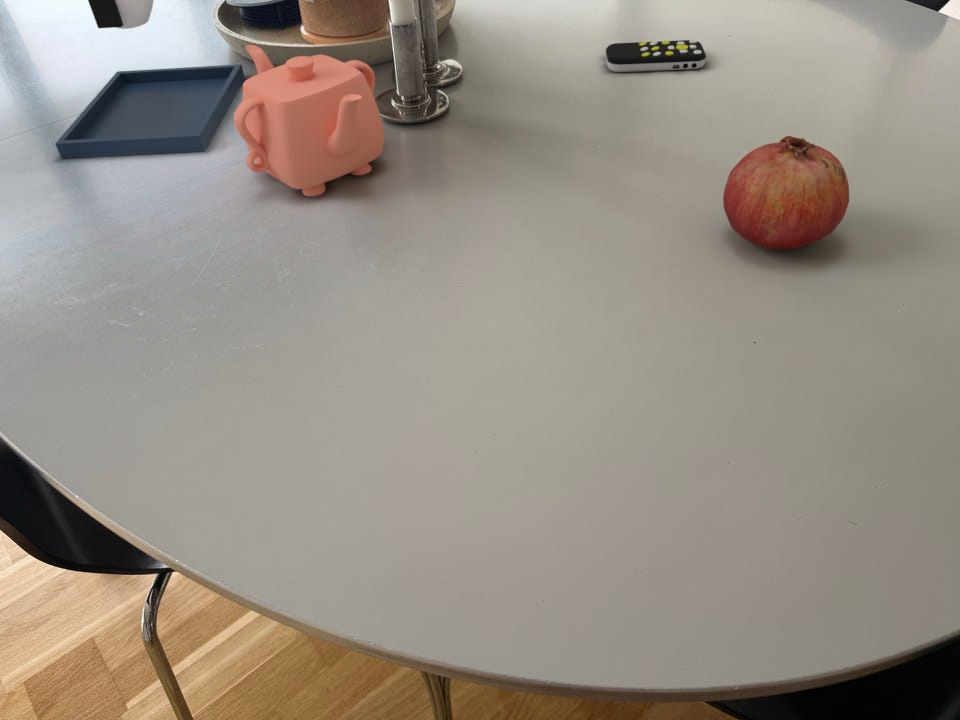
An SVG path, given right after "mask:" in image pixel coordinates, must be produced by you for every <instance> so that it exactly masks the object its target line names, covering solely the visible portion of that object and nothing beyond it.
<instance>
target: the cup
mask: <svg viewBox="0 0 960 720" xmlns="http://www.w3.org/2000/svg"><path fill="white" fill-rule="evenodd" d="M115 1H116V4H117V7H118V10H119V13H120V16H121V19H122V22H123V26H122V27H115V29H119V30H120V29H121V30H125V29H127V30H128V29H134V28H138V27H141V26H144V25H146V24H147V23H148V22H149V21H150V19H151V15H152V12H153V7H154V0H115Z"/></svg>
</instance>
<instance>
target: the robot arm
mask: <svg viewBox="0 0 960 720" xmlns="http://www.w3.org/2000/svg"><path fill="white" fill-rule="evenodd" d="M87 1H88V4H89V7H90V9H91V13H92V15H93V18H94V21H95V23H96V26H97V28H98V29H110V28H112V29H113V28H116V27H122V26H123V22H122V19H121V16H120V13H119V10H118V7H117V4H116V1H115V0H87Z"/></svg>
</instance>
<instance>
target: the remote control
mask: <svg viewBox="0 0 960 720" xmlns="http://www.w3.org/2000/svg"><path fill="white" fill-rule="evenodd" d="M706 59H707V54H706V52H705V50H704V48H703V45H702V43H701V42H700V41H698V40H697V39H685V40H683V39H682V40H681V39H680V40H662V41H661V40H660V41H656V40H655V41H654V40H653V41H637V42H617V43H611V44H609V45H608V46H607V47H606V48H605V62H606V67H607V69H608V70H609V71H611V72H613V73H631V72H633V73H634V72H654V71H655V72H656V71H677V70H678V71H679V70H696V69H697V70H698V69H701V68H702V67H703V66H704V65H705V64H706Z"/></svg>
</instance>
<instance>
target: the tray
mask: <svg viewBox="0 0 960 720" xmlns="http://www.w3.org/2000/svg"><path fill="white" fill-rule="evenodd" d="M245 80H246V77H245V72H244V69H243V65H242V64H241V63H240V64H238V63H237V64H224V65H223V64H222V65H206V66H205V65H204V66H189V67H187V66H186V67H169V68H154V69H137V70H120V71H119V70H117V71H116V72H115V73H114V75H112V77H111V78H110V79H109V80H108V82H106V84H105V85H104V86H103V87H102V88H101V90H100V91H99V92H98V93H97V94H96V96H95V97H94V98H92V100H91V102H89V103H88V105H87V106H86V107H85V108H84V110H83V111H82V112H81V113H80V114H79V115H78V116H77V117H76V119H75V120H74V121H73V122H72V123H71V125H69V127H68V128H67V129H66V130H65V131H64V132H63V134H62V135H61V136H60V137H59V138H58V140H56V142H55V143H54V144H55V147H56V149H57V152H58V154H59V156H60V159H61V160H63V159H83V158H100V157H101V158H103V157H121V156H137V155H139V156H141V155H159V154H177V153H178V154H179V153H192V152H193V153H196V152H198V153H199V152H205V151H206V149H207V147H208V146H209V143H210V142H211V140H212V138H213V136H214V135H215V133H216V131H217V129H218V127H219V126H220V124H221V122H222V120H223V118H224V117H225V115H226V114H227V111H228V109H229V108H230V106H231V104H232V102H233V100H234V99H235V97H236V95H237V94H238V92H239V90H240V88H241V86H242V85H243V83H244V82H245Z"/></svg>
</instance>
